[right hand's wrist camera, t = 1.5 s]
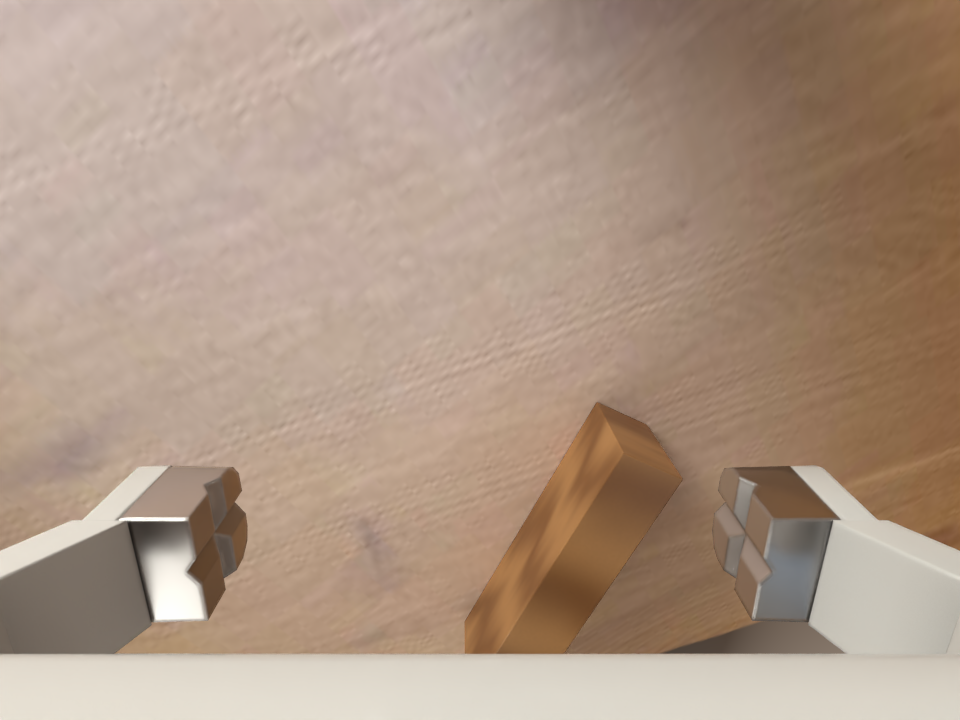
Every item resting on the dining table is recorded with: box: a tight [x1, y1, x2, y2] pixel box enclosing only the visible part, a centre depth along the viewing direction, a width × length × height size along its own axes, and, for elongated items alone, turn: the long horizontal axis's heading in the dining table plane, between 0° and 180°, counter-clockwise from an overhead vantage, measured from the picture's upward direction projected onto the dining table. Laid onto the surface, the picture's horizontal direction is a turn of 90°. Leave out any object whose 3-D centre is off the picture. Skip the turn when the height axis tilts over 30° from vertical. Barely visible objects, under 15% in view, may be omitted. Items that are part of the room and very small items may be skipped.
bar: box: [465, 402, 683, 654], centre depth 45 cm, size 23×4×8 cm, turn 154°
